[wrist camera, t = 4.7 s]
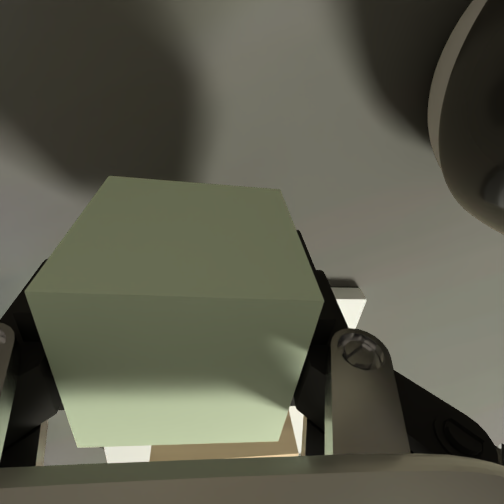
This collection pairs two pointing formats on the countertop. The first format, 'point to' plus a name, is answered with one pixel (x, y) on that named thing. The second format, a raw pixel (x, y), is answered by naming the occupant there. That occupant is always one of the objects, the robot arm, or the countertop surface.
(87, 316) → the sage cube
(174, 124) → the countertop surface
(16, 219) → the countertop surface
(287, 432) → the oak block
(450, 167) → the pump dispenser
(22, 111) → the countertop surface
